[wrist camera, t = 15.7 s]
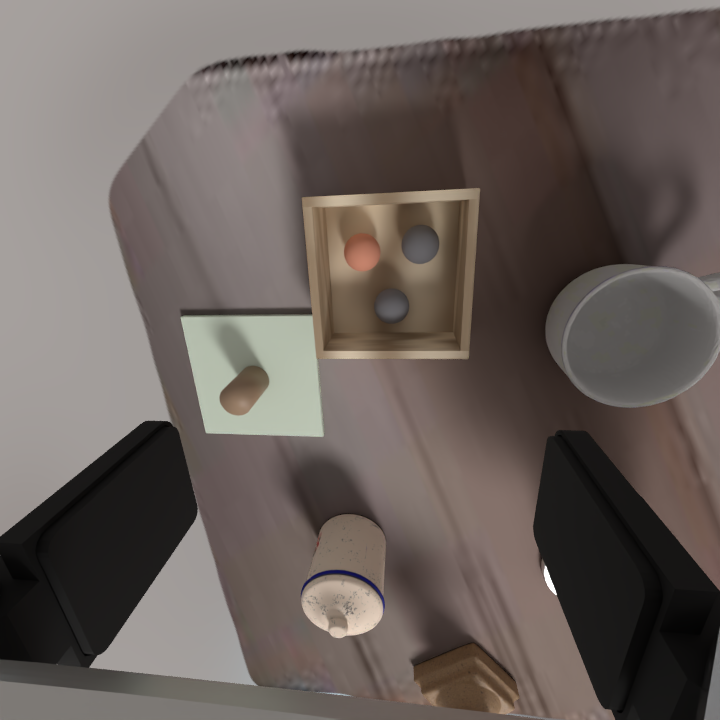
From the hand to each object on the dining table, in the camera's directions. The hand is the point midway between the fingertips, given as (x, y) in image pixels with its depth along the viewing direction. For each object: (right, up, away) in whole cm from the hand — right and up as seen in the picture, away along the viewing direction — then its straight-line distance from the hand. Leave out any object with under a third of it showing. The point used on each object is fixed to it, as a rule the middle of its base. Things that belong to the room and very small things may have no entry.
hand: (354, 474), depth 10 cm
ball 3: (+5, +13, +24) cm, 28 cm away
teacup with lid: (0, -21, +39) cm, 45 cm away
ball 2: (+3, +8, +26) cm, 28 cm away
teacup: (+23, +8, +25) cm, 35 cm away
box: (+3, +11, +26) cm, 28 cm away
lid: (-11, +1, +32) cm, 34 cm away
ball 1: (+1, +13, +25) cm, 28 cm away
